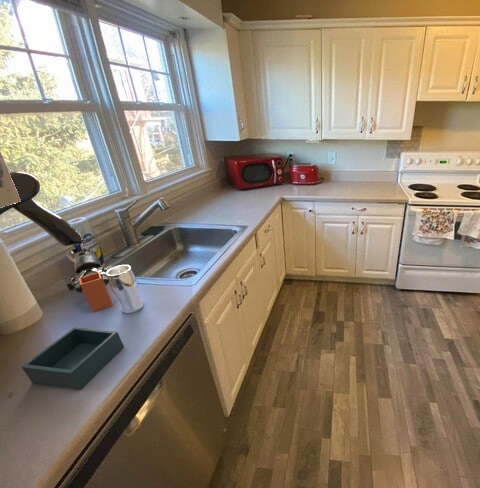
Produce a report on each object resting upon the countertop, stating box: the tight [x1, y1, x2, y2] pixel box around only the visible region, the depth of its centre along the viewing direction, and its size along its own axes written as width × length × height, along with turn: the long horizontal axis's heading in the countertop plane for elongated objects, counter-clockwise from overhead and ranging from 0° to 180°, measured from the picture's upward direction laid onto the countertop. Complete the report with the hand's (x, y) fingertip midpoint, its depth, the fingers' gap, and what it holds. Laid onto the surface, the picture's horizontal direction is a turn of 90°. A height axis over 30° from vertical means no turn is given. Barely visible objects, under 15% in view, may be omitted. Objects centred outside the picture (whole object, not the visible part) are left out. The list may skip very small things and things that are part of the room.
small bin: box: [79, 272, 114, 313], centre depth 94 cm, size 6×6×11 cm
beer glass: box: [105, 264, 144, 314], centre depth 92 cm, size 7×7×15 cm
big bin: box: [21, 326, 125, 391], centre depth 73 cm, size 14×14×6 cm
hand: (93, 286), depth 91 cm, fingers open, 6 cm apart
